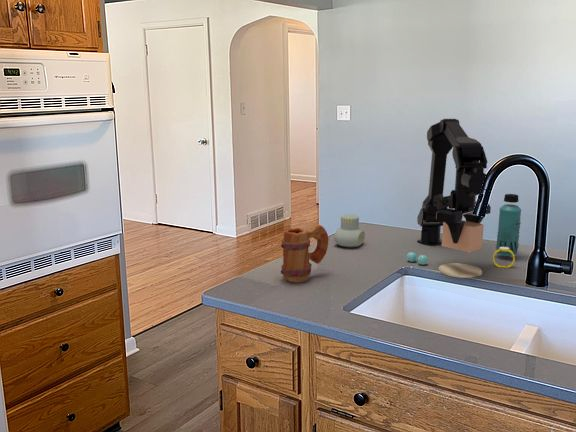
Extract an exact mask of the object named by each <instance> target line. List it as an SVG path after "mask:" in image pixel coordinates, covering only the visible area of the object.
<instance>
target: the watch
mask: <svg viewBox="0 0 576 432" xmlns="http://www.w3.org/2000/svg"><path fill="white" fill-rule="evenodd" d="M499 251H508V252H510V253H511V254H512V256H511V257H512V261H511V262H510V264H508V265H503V264H498V263H497V262H496V259H495V258H496V257H495V256H496V255H497V252H499ZM515 256H516V255H515ZM515 256H514V254H513V252H512V251H511V250H509V248H508V247H500V248H499V249H498V250H496V249H495V251H494V252H493V254H492V260H493V264H494V265H495V267H497V268H503V269H505V268H506V269H509V268H511V267H513V265H514V263H515V258H516V257H515Z"/></svg>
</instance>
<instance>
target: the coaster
mask: <svg viewBox="0 0 576 432" xmlns="http://www.w3.org/2000/svg"><path fill="white" fill-rule="evenodd" d="M438 272H439V273H440V274H442V275H445V276H448V277H452V278H457V279H458V278H459V279H473V278H478V277H480V276H482V275H483V270H482V269H481V267H480V268H479V266H475V265H471V264H467V263H459V262H458V263H457V262H454V263H453V262H451V263H450V262H449V263H444V264H442V265H439V267H438Z"/></svg>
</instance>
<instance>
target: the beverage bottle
mask: <svg viewBox="0 0 576 432" xmlns="http://www.w3.org/2000/svg"><path fill="white" fill-rule="evenodd" d="M503 201H504V202H506V203H507V204H503V205H501V206H500V207H499V216H498V227H497V228H498V229H497V234H496V244H495V251H496V250H498V249H499V248H500V247H508V248H509V250H511V251H512V252H513V254H514V256H517V255H518V252H519V245H520V243H519V241H520V228H521V223H522V222H521V214H522V213H521V212H522V208H520V207H519V205H517V204H514V203H519V195H518V194H513V193H506V194H504V199H503ZM508 203H512V204H508ZM497 254H498V255H500V256H505V257H513V256H512V254H511V253H510V252H508V251H499V252H497V253H496V255H497Z"/></svg>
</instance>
